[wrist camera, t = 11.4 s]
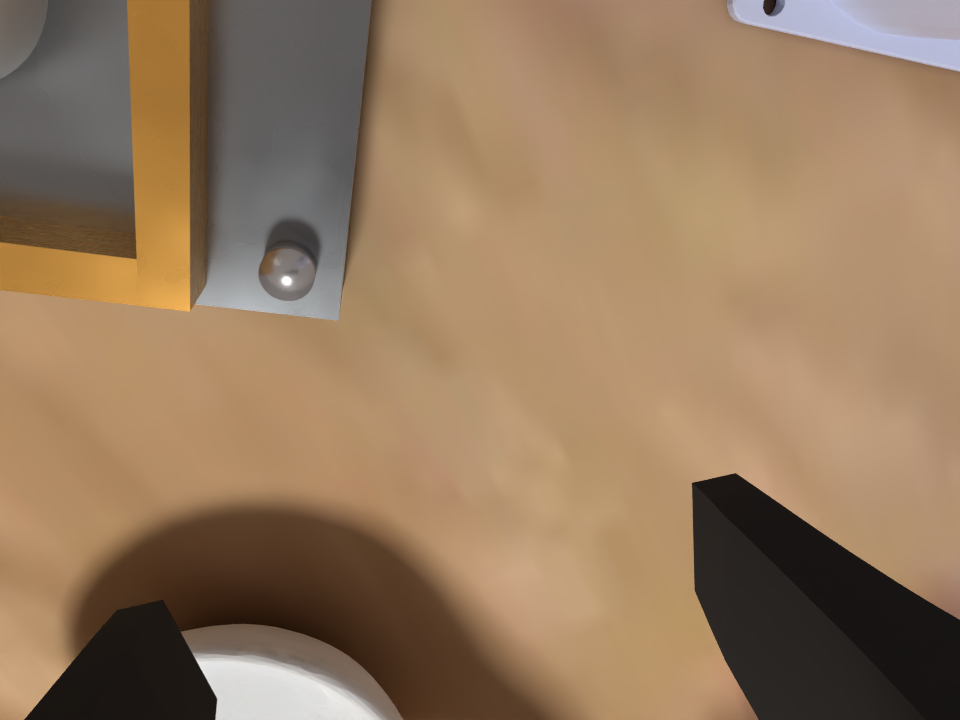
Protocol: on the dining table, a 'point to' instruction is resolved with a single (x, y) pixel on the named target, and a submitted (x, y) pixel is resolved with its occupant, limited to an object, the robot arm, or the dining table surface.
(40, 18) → the lidded can
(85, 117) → the grey fixture plate
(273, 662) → the spoon rest
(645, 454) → the dining table surface
